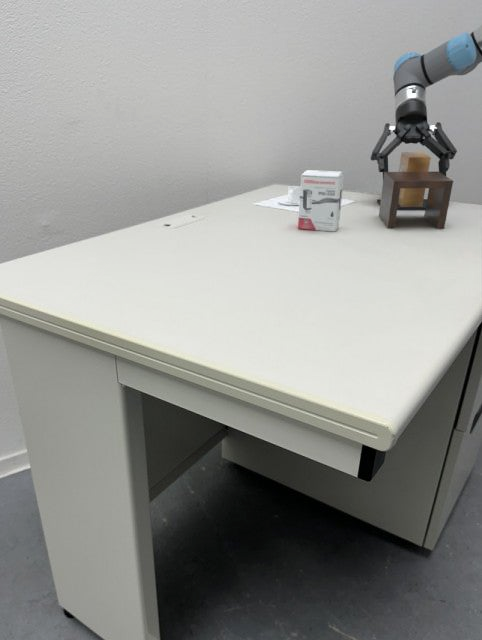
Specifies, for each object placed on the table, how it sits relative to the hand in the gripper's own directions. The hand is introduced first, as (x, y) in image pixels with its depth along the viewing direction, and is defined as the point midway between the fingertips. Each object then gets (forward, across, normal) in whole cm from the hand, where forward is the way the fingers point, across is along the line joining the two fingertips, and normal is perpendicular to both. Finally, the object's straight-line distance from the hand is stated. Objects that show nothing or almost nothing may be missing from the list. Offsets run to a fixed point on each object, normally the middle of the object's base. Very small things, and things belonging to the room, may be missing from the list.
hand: (414, 182), depth 134 cm
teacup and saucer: (0, -26, +9) cm, 28 cm away
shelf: (+15, -3, -6) cm, 16 cm away
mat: (+3, 0, +6) cm, 7 cm away
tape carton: (+2, 0, +6) cm, 6 cm away
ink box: (+19, -24, -10) cm, 33 cm away
